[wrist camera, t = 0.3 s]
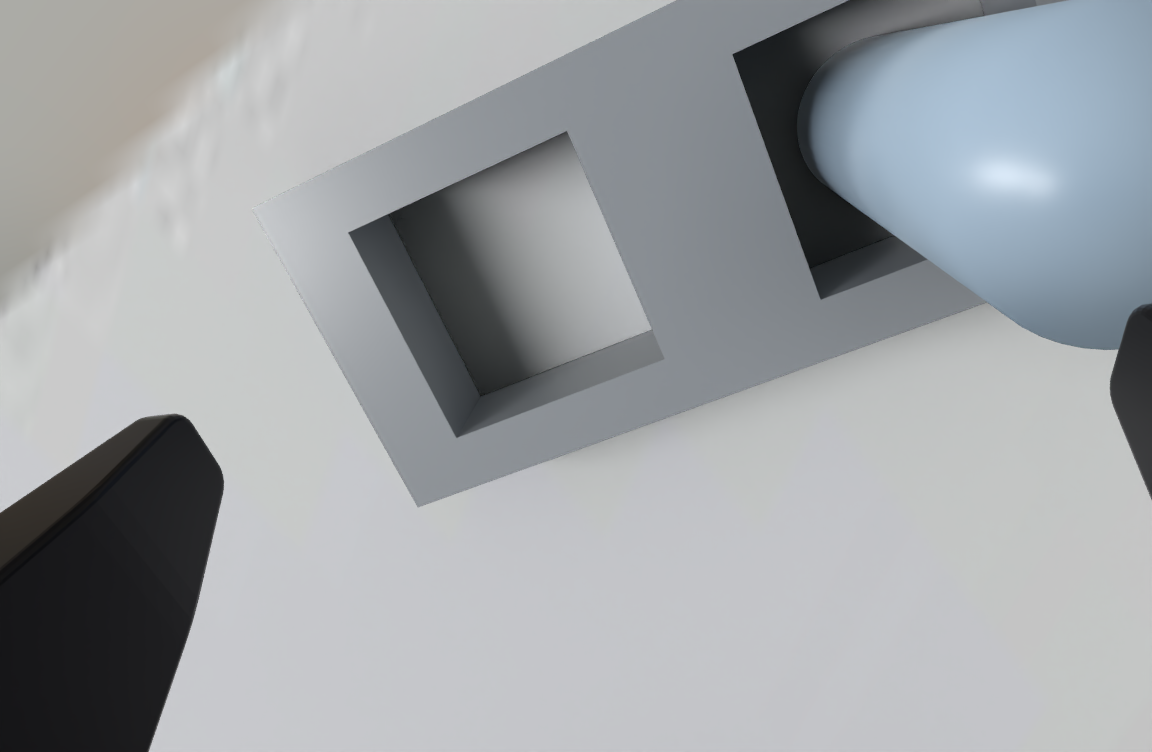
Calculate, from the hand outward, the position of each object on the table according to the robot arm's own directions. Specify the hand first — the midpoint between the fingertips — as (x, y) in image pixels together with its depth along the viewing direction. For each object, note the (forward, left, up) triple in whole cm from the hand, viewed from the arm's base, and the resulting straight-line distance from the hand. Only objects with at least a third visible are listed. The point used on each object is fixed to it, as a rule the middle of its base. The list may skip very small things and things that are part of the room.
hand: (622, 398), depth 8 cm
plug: (+4, -4, -15) cm, 16 cm away
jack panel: (0, -1, -15) cm, 15 cm away
